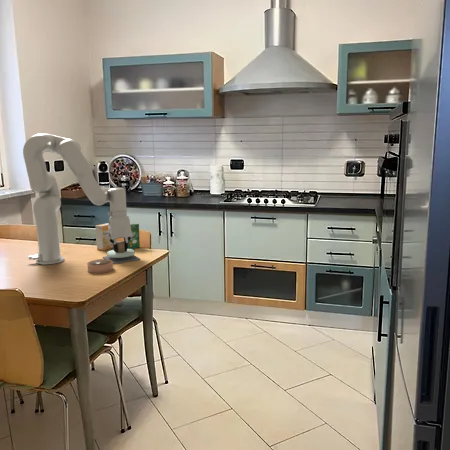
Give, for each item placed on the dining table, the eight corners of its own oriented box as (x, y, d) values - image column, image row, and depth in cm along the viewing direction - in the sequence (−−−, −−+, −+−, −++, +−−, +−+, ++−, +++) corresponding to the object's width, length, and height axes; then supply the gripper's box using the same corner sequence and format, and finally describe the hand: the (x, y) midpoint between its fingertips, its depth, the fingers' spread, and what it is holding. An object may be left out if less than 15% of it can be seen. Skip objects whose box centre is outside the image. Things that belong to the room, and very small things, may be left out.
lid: (112, 259, 220) (111, 246, 219) (103, 253, 231) (102, 241, 230) (138, 255, 226) (137, 242, 225) (129, 249, 237) (128, 237, 236)
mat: (111, 264, 220) (111, 263, 220) (102, 257, 232) (102, 256, 231) (140, 260, 227) (140, 258, 227) (130, 253, 239) (130, 252, 238)
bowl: (91, 275, 204) (91, 266, 203) (84, 269, 213) (84, 261, 212) (116, 270, 209) (116, 263, 209) (108, 265, 219) (108, 257, 218)
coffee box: (136, 246, 254) (135, 222, 251) (140, 247, 252) (139, 223, 249) (125, 249, 247) (123, 225, 245) (128, 250, 246) (127, 225, 243)
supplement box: (103, 250, 246) (101, 226, 243) (96, 249, 248) (95, 225, 246) (114, 247, 252) (113, 223, 250) (108, 246, 255) (106, 222, 252)
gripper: (103, 216, 218) (106, 255, 221) (138, 213, 226) (140, 250, 229) (98, 214, 224) (101, 252, 227) (132, 211, 232) (134, 247, 236)
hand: (120, 250), depth 228 cm, fingers closed on lid, 4 cm apart
